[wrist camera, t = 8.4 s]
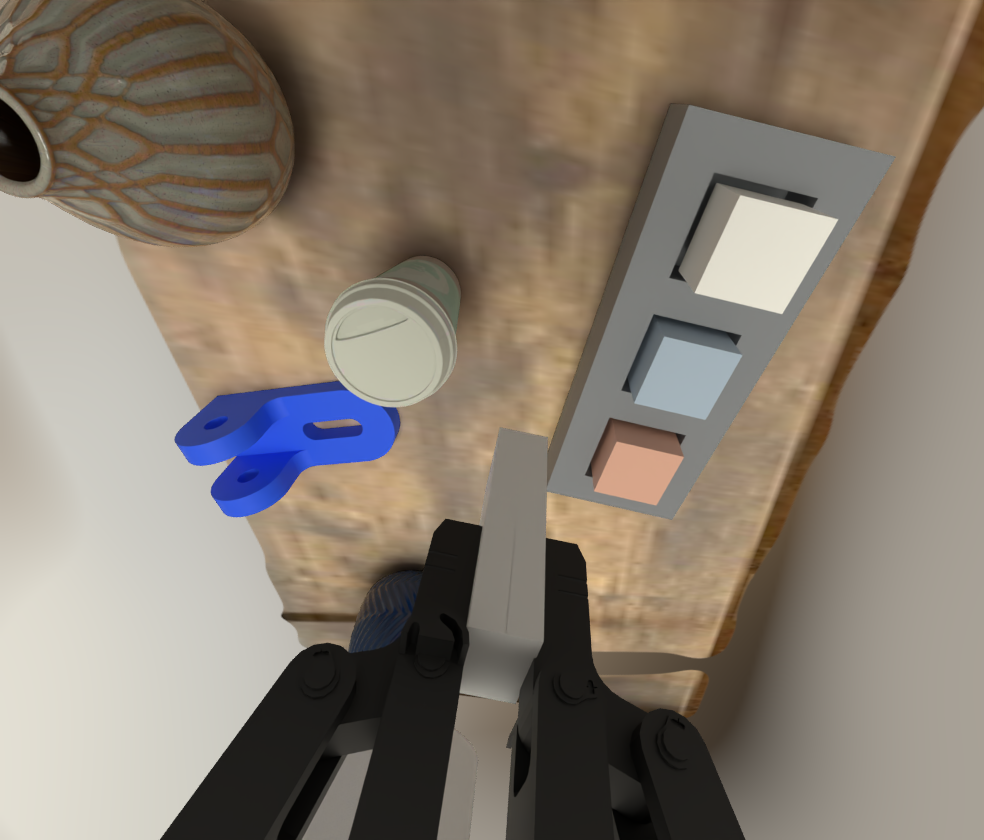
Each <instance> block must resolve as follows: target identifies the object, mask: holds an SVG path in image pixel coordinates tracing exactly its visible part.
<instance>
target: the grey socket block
mask: <svg viewBox="0 0 984 840" xmlns="http://www.w3.org/2000/svg"><path fill="white" fill-rule="evenodd" d="M894 159H895V156H891V155H887V154H883V153H879V152H875V151H871V150H867V149H863V148H859V147H855V146H851V145H847V144H843V143H839V142H835V141H831V140H827V139H823V138H819V137H815V136H811V135H807V134H803V133H799V132H795V131H791V130H787V129H783V128H780V127H776V126H772V125H768V124H764V123H760V122H756V121H752V120H748V119H744V118H740V117H736V116H732V115H728V114H724V113H720V112H716V111H712V110H708V109H704V108H700V107H696V106H692V105H685V104H670V107H669V110H668V112H667V115H666V118H665V121H664V124H663V127H662V130H661V132H660V135H659V138H658V141H657V144H656V147H655V149H654V152H653V155H652V158H651V161H650V164H649V166H648V169H647V172H646V175H645V178H644V181H643V183H642V186H641V189H640V192H639V195H638V198H637V200H636V203H635V206H634V209H633V212H632V215H631V217H630V220H629V223H628V226H627V229H626V232H625V235H624V237H623V240H622V243H621V246H620V249H619V252H618V254H617V257H616V260H615V263H614V266H613V269H612V271H611V274H610V277H609V280H608V283H607V286H606V288H605V291H604V294H603V297H602V300H601V303H600V305H599V308H598V311H597V314H596V317H595V320H594V323H593V325H592V328H591V331H590V334H589V337H588V340H587V342H586V345H585V348H584V351H583V354H582V357H581V359H580V362H579V365H578V368H577V371H576V374H575V376H574V379H573V382H572V385H571V388H570V391H569V393H568V396H567V399H566V402H565V405H564V408H563V410H562V413H561V416H560V419H559V422H558V425H557V428H556V430H555V433H554V436H553V439H552V442H551V445H550V447H549V450H548V453H547V492H551V493H556V494H560V495H565V496H569V497H573V498H578V499H582V500H587V501H591V502H596V503H600V504H604V505H609V506H613V507H618V508H622V509H626V510H631V511H635V512H640V513H644V514H649V515H653V516H657V517H662V518H666V519H671V520H672V519H673V517H674V516H675V514H676V512H677V511H678V509H679V508H680V506H681V504H682V503H683V501H684V500H685V498H686V496H687V495H688V493H689V491H690V490H691V488H692V487H693V485H694V483H695V482H696V480H697V478H698V477H699V475H700V474H701V472H702V470H703V469H704V467H705V465H706V464H707V462H708V461H709V459H710V457H711V456H712V454H713V452H714V451H715V449H716V448H717V446H718V444H719V443H720V441H721V440H722V438H723V436H724V435H725V433H726V431H727V430H728V428H729V427H730V425H731V423H732V422H733V420H734V418H735V417H736V415H737V414H738V412H739V410H740V409H741V407H742V405H743V404H744V402H745V401H746V399H747V397H748V396H749V394H750V392H751V391H752V389H753V388H754V386H755V384H756V383H757V381H758V380H759V378H760V376H761V375H762V373H763V371H764V370H765V368H766V367H767V365H768V363H769V362H770V360H771V358H772V357H773V355H774V354H775V352H776V350H777V349H778V347H779V345H780V344H781V342H782V341H783V339H784V337H785V336H786V334H787V333H788V331H789V329H790V328H791V326H792V324H793V323H794V321H795V320H796V318H797V316H798V315H799V313H800V311H801V310H802V308H803V307H804V305H805V303H806V302H807V300H808V298H809V297H810V295H811V294H812V292H813V290H814V289H815V287H816V285H817V284H818V282H819V281H820V279H821V277H822V276H823V274H824V273H825V271H826V269H827V268H828V266H829V264H830V263H831V261H832V260H833V258H834V256H835V255H836V253H837V251H838V250H839V248H840V247H841V245H842V243H843V242H844V240H845V238H846V237H847V235H848V234H849V232H850V230H851V229H852V227H853V225H854V224H855V222H856V221H857V219H858V217H859V216H860V214H861V213H862V211H863V209H864V208H865V206H866V204H867V203H868V201H869V200H870V198H871V196H872V195H873V193H874V191H875V190H876V188H877V187H878V185H879V183H880V182H881V180H882V178H883V177H884V175H885V174H886V172H887V170H888V169H889V167H890V165H891V164H892V162H893V161H894ZM716 183H720V184H724V185H728V186H732V187H736V188H740V189H744V190H748V191H752V192H756V193H760V194H764V195H768V196H772V197H776V198H780V199H784V200H788V201H792V202H796V203H800V204H804V205H806V206H808V207H811V208H813V209H815V210H818V211H820V212H822V213H825V214H827V215H829V216H832V217H834V218H836V219H839V220H838V221H837V223H836V225H835V226H834V228H833V230H832V231H831V233H830V235H829V236H828V238H827V240H826V241H825V243H824V245H823V246H822V248H821V250H820V252H819V253H818V255H817V257H816V258H815V260H814V262H813V263H812V265H811V267H810V268H809V270H808V272H807V273H806V275H805V277H804V278H803V280H802V282H801V283H800V285H799V287H798V288H797V290H796V292H795V294H794V295H793V297H792V299H791V300H790V302H789V304H788V305H787V307H786V309H785V310H784V312H783V314H779V313H775V312H771V311H767V310H763V309H759V308H755V307H750V306H746V305H742V304H738V303H734V302H730V301H725V300H721V299H717V298H713V297H709V296H705V295H701V294H696V293H694V292H693V290H692V289H691V287H690V286H689V285H688V283H687V282H686V281H685V279H684V278H683V276H682V275H681V274H680V272H679V271H678V270H679V268H680V265H681V263H682V261H683V258H684V256H685V254H686V252H687V249H688V247H689V245H690V242H691V240H692V238H693V235H694V233H695V231H696V229H697V226H698V224H699V222H700V219H701V217H702V215H703V212H704V210H705V208H706V206H707V203H708V201H709V199H710V196H711V194H712V192H713V189H714V187H715V185H716ZM654 314H655V315H659V316H664V317H668V318H672V319H676V320H680V321H684V322H689V323H693V324H697V325H701V326H705V327H710V328H714V329H718V330H722V331H725V332H726V333H727V334H728V336H729V337H730V339H731V340H732V341H733V343H734V344H735V345H736V347H737V348H738V349H739V351H740V352H741V353H742V355H743V356H742V357H741V359H740V361H739V362H738V364H737V366H736V368H735V369H734V371H733V373H732V375H731V376H730V378H729V380H728V382H727V383H726V385H725V387H724V389H723V390H722V392H721V394H720V396H719V397H718V399H717V401H716V403H715V404H714V406H713V408H712V409H711V411H710V413H709V415H708V416H707V418H706V420H704V419H699V418H695V417H691V416H686V415H682V414H678V413H674V412H669V411H665V410H661V409H656V408H652V407H648V406H644V405H639V404H635V403H634V401H633V398H632V394H631V390H630V386H629V383H628V379H627V375H628V373H629V371H630V368H631V366H632V364H633V361H634V359H635V357H636V354H637V352H638V350H639V347H640V345H641V343H642V340H643V338H644V336H645V333H646V331H647V329H648V326H649V324H650V322H651V319H652V317H653V315H654ZM609 418H614V419H618V420H622V421H627V422H631V423H635V424H639V425H644V426H648V427H652V428H657V429H661V430H665V431H670V432H674V433H676V436H677V439H678V441H679V444H680V447H681V450H682V452H683V455H684V458H683V460H682V462H681V464H680V465H679V467H678V469H677V470H676V472H675V474H674V476H673V477H672V479H671V481H670V483H669V484H668V486H667V488H666V490H665V491H664V493H663V495H662V497H661V498H660V500H659V502H658V504H657V505H652V504H647V503H643V502H639V501H634V500H630V499H625V498H621V497H617V496H612V495H608V494H603V493H599V492H595V491H594V487H593V477H592V468H591V460H592V457H593V455H594V453H595V450H596V448H597V446H598V443H599V441H600V439H601V436H602V434H603V432H604V429H605V427H606V425H607V422H608V420H609Z"/></svg>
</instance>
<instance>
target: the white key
mask: <svg viewBox="0 0 984 840" xmlns="http://www.w3.org/2000/svg"><path fill="white" fill-rule="evenodd" d="M838 220H839V219H836V218H834V217H832V216H829V215H827V214H825V213H822V212H820V211H818V210H815V209H813V208H811V207H808V206H806V205H804V204H800V203H796V202H792V201H788V200H784V199H780V198H776V197H772V196H768V195H764V194H760V193H756V192H752V191H748V190H744V189H740V188H736V187H732V186H728V185H724V184H720V183H716V185H715V187H714V189H713V192H712V194H711V196H710V199H709V201H708V203H707V206H706V208H705V210H704V212H703V215H702V217H701V219H700V222H699V224H698V226H697V229H696V231H695V233H694V235H693V238H692V240H691V242H690V245H689V247H688V249H687V252H686V254H685V256H684V258H683V261H682V263H681V265H680V268H679V270H678V271H679V272H680V274H681V275H682V276H683V278H684V279H685V281H686V282H687V283H688V285H689V286H690V287H691V289H692V290H693V292H694V293H696V294H701V295H705V296H709V297H713V298H717V299H721V300H725V301H730V302H734V303H738V304H742V305H746V306H750V307H755V308H759V309H763V310H767V311H771V312H775V313H779V314H783V312H784V310H785V309H786V307H787V305H788V304H789V302H790V300H791V299H792V297H793V295H794V294H795V292H796V290H797V288H798V287H799V285H800V283H801V282H802V280H803V278H804V277H805V275H806V273H807V272H808V270H809V268H810V267H811V265H812V263H813V262H814V260H815V258H816V257H817V255H818V253H819V252H820V250H821V248H822V246H823V245H824V243H825V241H826V240H827V238H828V236H829V235H830V233H831V231H832V230H833V228H834V226H835V225H836V223H837V221H838Z"/></svg>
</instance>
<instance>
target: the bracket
mask: <svg viewBox="0 0 984 840" xmlns="http://www.w3.org/2000/svg"><path fill="white" fill-rule="evenodd" d="M341 419H354V420H356V421H358V422H359V423H360V424H361V425H359V426H349V427H339V428H329V429H320V428H318V427H316V426H315V425H314V424H313V422H322V421H331V420H341ZM399 428H400V418H399V414H398V411H397V409H396V407H384V406H379V405H375V404H372V403H370V402H367V401H365V400H363V399H361V398H359V397H358V396H356V395H354V394H353V393H352V392H350V391H349V390H348V389H347V388H346V387H345V386H344V385H343V384H342V383H341V382H340V381H335V382H327V383H319V384H311V385H302V386H294V387H286V388H278V389H270V390H262V391H254V392H245V393H237V394H229V395H221V396H217V397H216V398H215V399H214V400H212V401H211V402H210V403H209V404H208V405H207V406H206V407H205V408H203V409H202V410H201V411H200V412H199V413H198V414H197V415H196V416H194V417H193V418H192V419H191V420H190V421H189V422H188V423H187V424H186V425H184V426H183V427H182V428H181V429H180V430H179V431H178V433H177V434H176V436H175V443H176V444H177V446H178V447H179V449H180V450H181V451H182V453H183V454H184V456H185V457H186V459H187V460H188V462H189V463H191V464H193V465H199V466H203V465H211V464H215V463H219V462H222V461H225V460H227V459H230V458H232V457H234V456H237V457H236V458H235V459H234V460H233V461H232V462H231V463H230V465H229V466H228V467H227V468H226V469H225V470H224V472H223V473H222V474H221V475H220V476H219V477H218V478H217V479H216V481H215V482H214V484H213V485H212V488H211V495H212V497H213V498H214V500H215V501H216V503H217V504H218V505H219V507H220V508H221V510H222V511H223V513H225V514H226V515H227V516H231V517H244V516H249V515H252V514H255V513H258V512H260V511H262V510H264V509H266V508H268V507H270V506H271V505H273V504H274V503H276V502H277V501H278V500H280V499H281V498H282V497H283V496H284V495H285V494H286V493H287V492H288V490H289V489H290V487H291V486H292V484H293V483H294V482H295V480H296V479H297V477H298V476H299V474H300V473H301V472H302V471H304V470H305V469H307V468H309V467H312V466H316V465H328V464H339V463H351V462H362V461H371V460H375V459H378V458H380V457H382V456H383V455H385V454H386V453H387V452H388V451H389V450H390V448H391V447H392V445H393V443H394V441H395V438H396V436H397V434H398V432H399Z"/></svg>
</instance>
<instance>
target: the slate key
mask: <svg viewBox="0 0 984 840" xmlns="http://www.w3.org/2000/svg"><path fill="white" fill-rule="evenodd" d="M742 356H743V355H742V353H741V352H740V351H739V349H738V348H737V347H736V345H735V344H734V343H733V341H732V340H731V339H730V337H729V336H728V334H727V333H726V332H725V331H722V330H718V329H714V328H710V327H705V326H701V325H697V324H693V323H689V322H684V321H680V320H676V319H672V318H668V317H664V316H659V315H655V314H654V315H653V317H652V319H651V322H650V324H649V326H648V329H647V331H646V333H645V336H644V338H643V340H642V343H641V345H640V347H639V350H638V352H637V354H636V357H635V359H634V361H633V364H632V366H631V368H630V371H629V373H628V375H627V379H628V383H629V386H630V390H631V394H632V398H633V401H634V403H635V404H639V405H644V406H648V407H652V408H656V409H661V410H665V411H669V412H674V413H678V414H682V415H686V416H691V417H695V418H699V419H704V420H706V418H707V416H708V415H709V413H710V411H711V409H712V408H713V406H714V404H715V403H716V401H717V399H718V397H719V396H720V394H721V392H722V390H723V389H724V387H725V385H726V383H727V382H728V380H729V378H730V376H731V375H732V373H733V371H734V369H735V368H736V366H737V364H738V362H739V361H740V359H741V357H742Z"/></svg>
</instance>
